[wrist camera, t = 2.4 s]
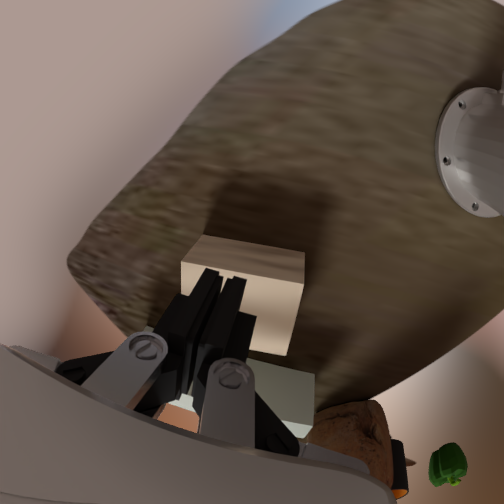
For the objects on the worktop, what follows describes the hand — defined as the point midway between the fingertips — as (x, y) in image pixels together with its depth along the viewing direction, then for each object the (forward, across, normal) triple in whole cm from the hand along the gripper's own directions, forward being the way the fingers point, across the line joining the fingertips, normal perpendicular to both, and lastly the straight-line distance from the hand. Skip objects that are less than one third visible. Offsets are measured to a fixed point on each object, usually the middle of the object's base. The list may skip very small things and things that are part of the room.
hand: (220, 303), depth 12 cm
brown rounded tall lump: (+17, -19, +27) cm, 37 cm away
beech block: (+17, 0, +9) cm, 19 cm away
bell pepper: (+17, -47, +37) cm, 62 cm away
